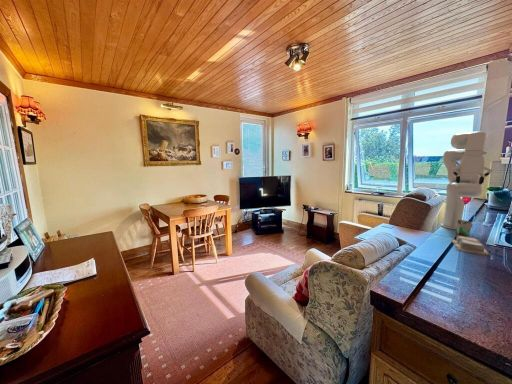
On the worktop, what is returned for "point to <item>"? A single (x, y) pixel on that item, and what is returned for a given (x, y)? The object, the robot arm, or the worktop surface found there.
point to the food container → (463, 228)
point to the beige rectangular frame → (469, 245)
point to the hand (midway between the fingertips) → (468, 183)
